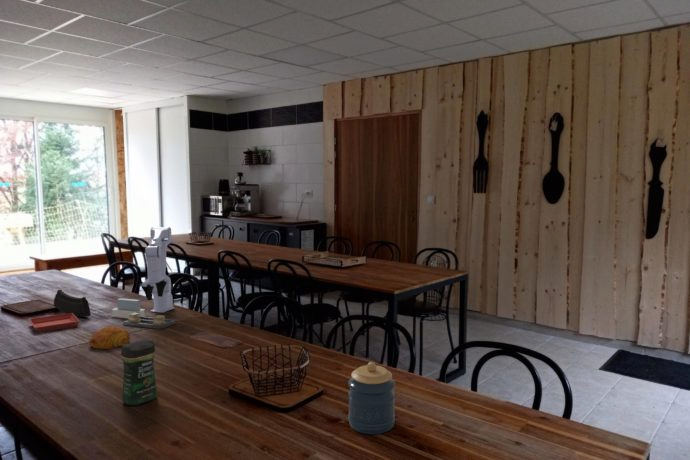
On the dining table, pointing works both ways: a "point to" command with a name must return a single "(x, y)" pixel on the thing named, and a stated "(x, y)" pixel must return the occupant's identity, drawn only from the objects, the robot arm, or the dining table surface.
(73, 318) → the plant saucer
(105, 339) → the croissant
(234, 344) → the wooden tablet
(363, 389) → the canister
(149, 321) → the rack
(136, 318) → the birch offcut stack
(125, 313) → the holder
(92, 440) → the dining table surface
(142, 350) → the coffee jar
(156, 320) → the birch offcut
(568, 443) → the dining table surface
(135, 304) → the chamfered blue-grey beam
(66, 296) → the magazine
